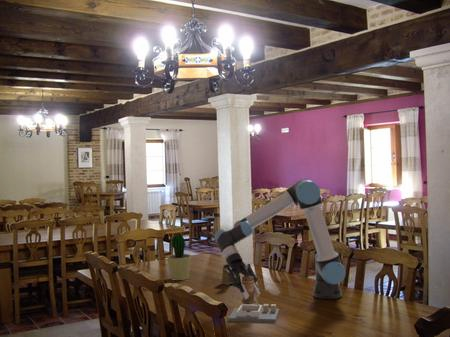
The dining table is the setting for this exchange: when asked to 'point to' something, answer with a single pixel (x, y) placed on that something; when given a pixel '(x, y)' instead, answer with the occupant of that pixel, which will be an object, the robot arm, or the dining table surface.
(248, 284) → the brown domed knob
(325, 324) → the dining table surface
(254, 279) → the robot arm
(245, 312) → the board
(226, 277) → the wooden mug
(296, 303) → the dining table surface
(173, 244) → the potted cactus
